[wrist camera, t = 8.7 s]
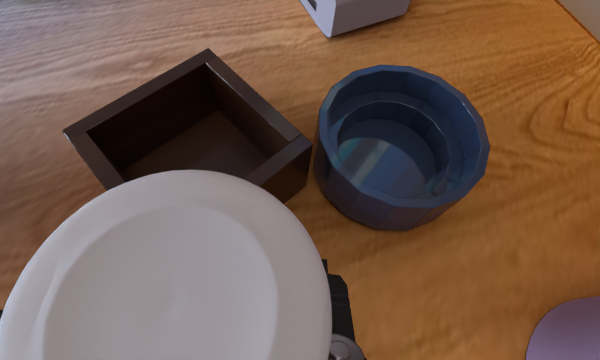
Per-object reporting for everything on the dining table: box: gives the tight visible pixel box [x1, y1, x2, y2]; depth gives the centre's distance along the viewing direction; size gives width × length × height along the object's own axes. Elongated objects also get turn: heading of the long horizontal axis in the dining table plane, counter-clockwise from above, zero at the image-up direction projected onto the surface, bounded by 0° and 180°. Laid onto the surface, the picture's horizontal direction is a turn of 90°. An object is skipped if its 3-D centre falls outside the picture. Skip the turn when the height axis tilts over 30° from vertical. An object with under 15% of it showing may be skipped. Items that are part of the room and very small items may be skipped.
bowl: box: [313, 65, 490, 230], centre depth 24 cm, size 11×11×5 cm
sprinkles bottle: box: [0, 170, 332, 360], centre depth 10 cm, size 5×5×14 cm
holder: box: [62, 48, 313, 204], centre depth 22 cm, size 10×10×6 cm
